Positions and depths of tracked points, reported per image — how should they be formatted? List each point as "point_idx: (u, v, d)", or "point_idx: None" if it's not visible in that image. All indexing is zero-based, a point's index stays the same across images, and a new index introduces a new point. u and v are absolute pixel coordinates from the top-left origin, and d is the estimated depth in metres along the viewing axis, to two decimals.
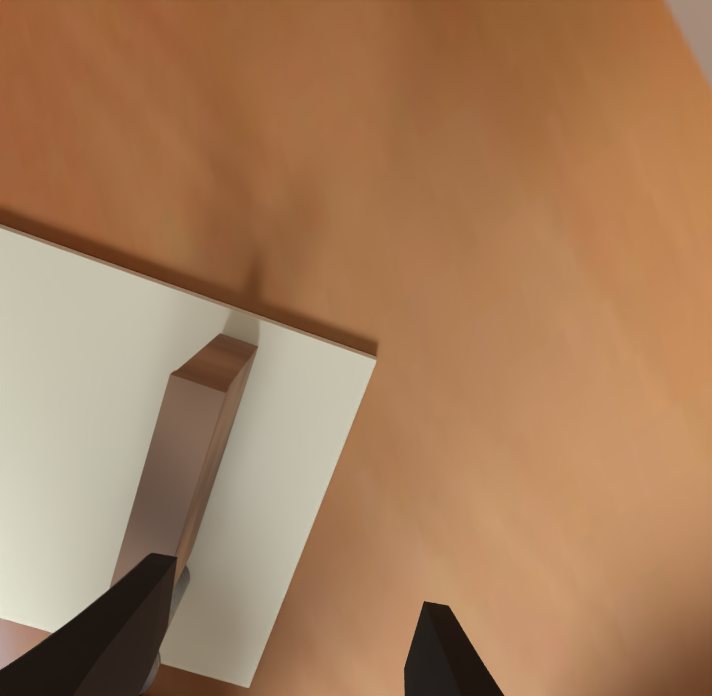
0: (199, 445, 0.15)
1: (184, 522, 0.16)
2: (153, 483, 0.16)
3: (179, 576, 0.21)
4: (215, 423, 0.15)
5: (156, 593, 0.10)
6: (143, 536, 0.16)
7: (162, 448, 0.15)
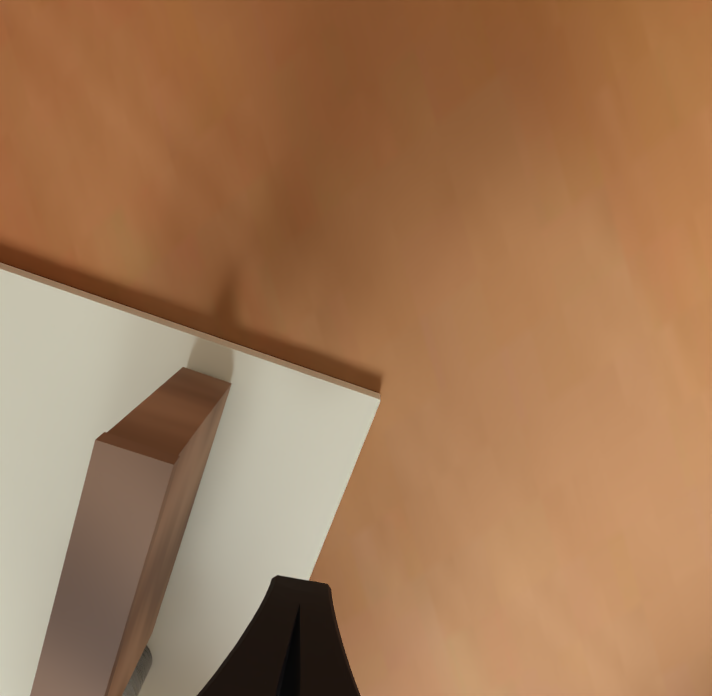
0: (139, 534, 0.11)
1: (122, 633, 0.12)
2: (78, 584, 0.11)
3: None
4: (160, 505, 0.11)
5: (295, 617, 0.10)
6: (67, 651, 0.12)
7: (88, 538, 0.11)
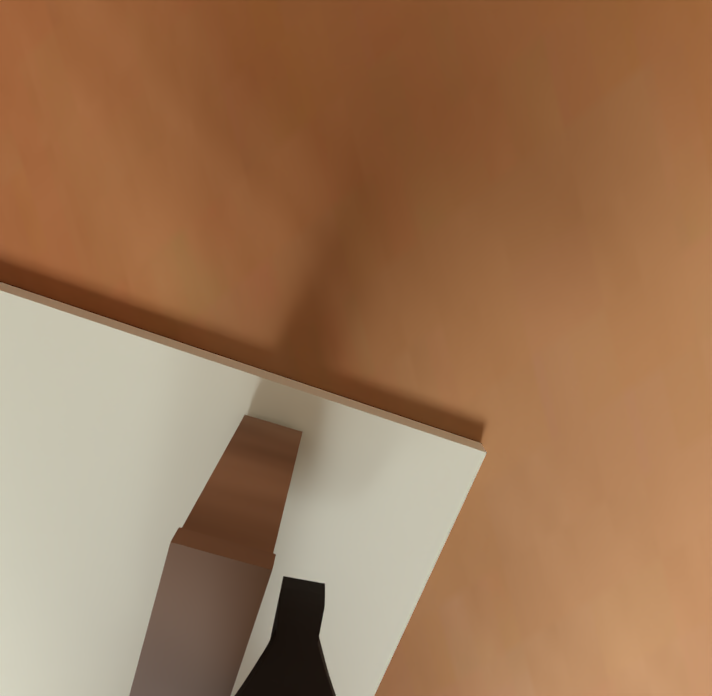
0: (226, 655, 0.09)
1: None
2: None
3: None
4: (254, 619, 0.08)
5: None
6: None
7: (161, 662, 0.09)
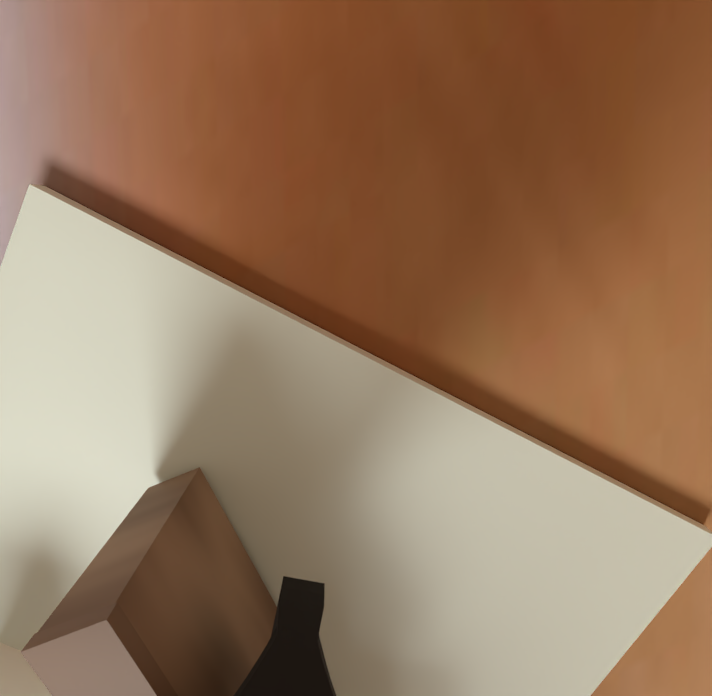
0: None
1: None
2: None
3: None
4: (136, 665, 0.09)
5: None
6: None
7: None
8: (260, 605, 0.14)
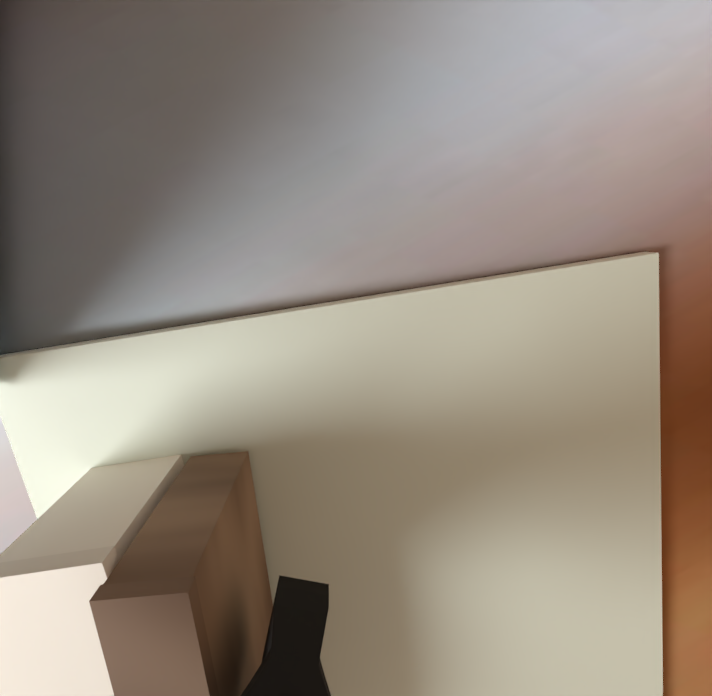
0: (191, 683, 0.09)
1: None
2: None
3: None
4: (197, 642, 0.09)
5: None
6: None
7: None
8: (264, 599, 0.14)
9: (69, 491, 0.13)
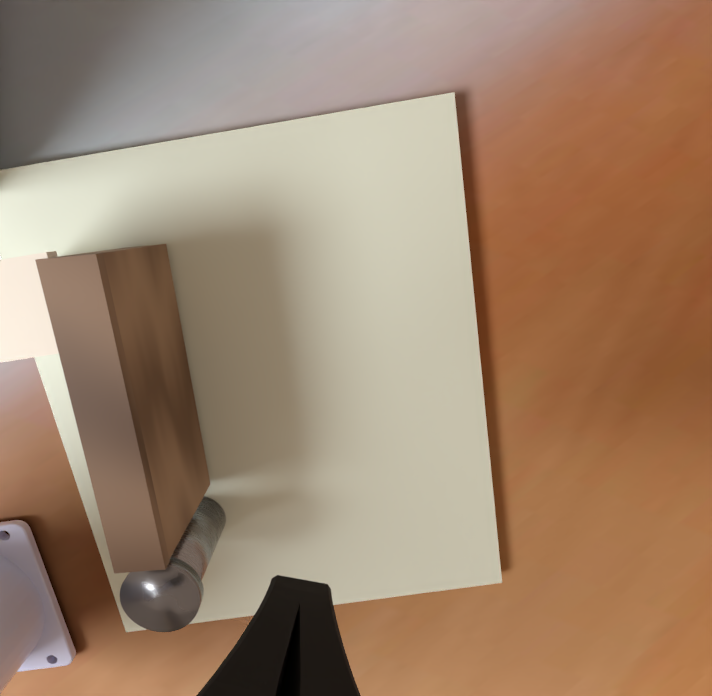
0: (101, 322, 0.14)
1: (131, 412, 0.15)
2: (80, 383, 0.15)
3: (199, 503, 0.20)
4: (103, 291, 0.14)
5: (295, 617, 0.10)
6: (100, 443, 0.15)
7: (69, 342, 0.14)
8: (178, 354, 0.19)
9: None
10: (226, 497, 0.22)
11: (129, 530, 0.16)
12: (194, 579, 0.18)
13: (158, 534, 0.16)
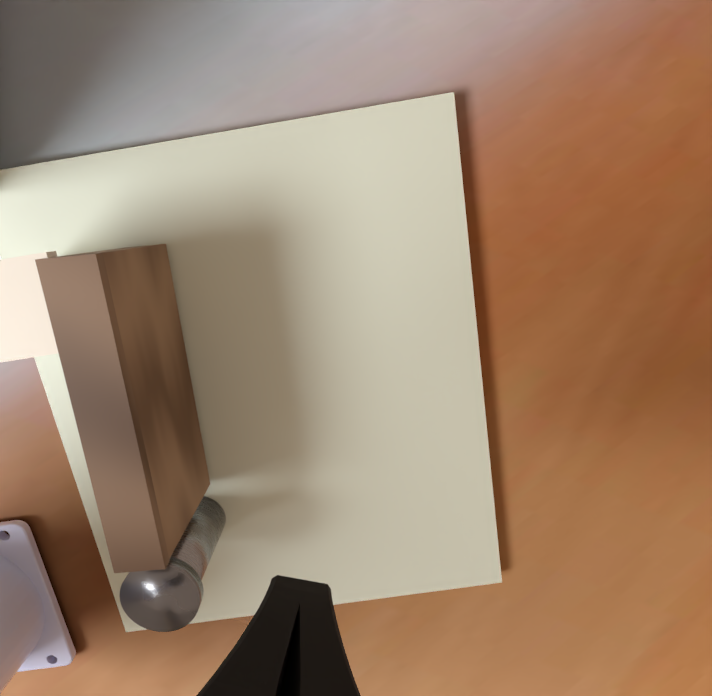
0: (101, 322, 0.14)
1: (131, 411, 0.15)
2: (80, 382, 0.15)
3: (198, 503, 0.20)
4: (103, 291, 0.14)
5: (295, 617, 0.10)
6: (100, 443, 0.15)
7: (69, 341, 0.14)
8: (178, 354, 0.19)
9: None
10: (226, 497, 0.22)
11: (129, 530, 0.16)
12: (193, 579, 0.18)
13: (158, 534, 0.16)
